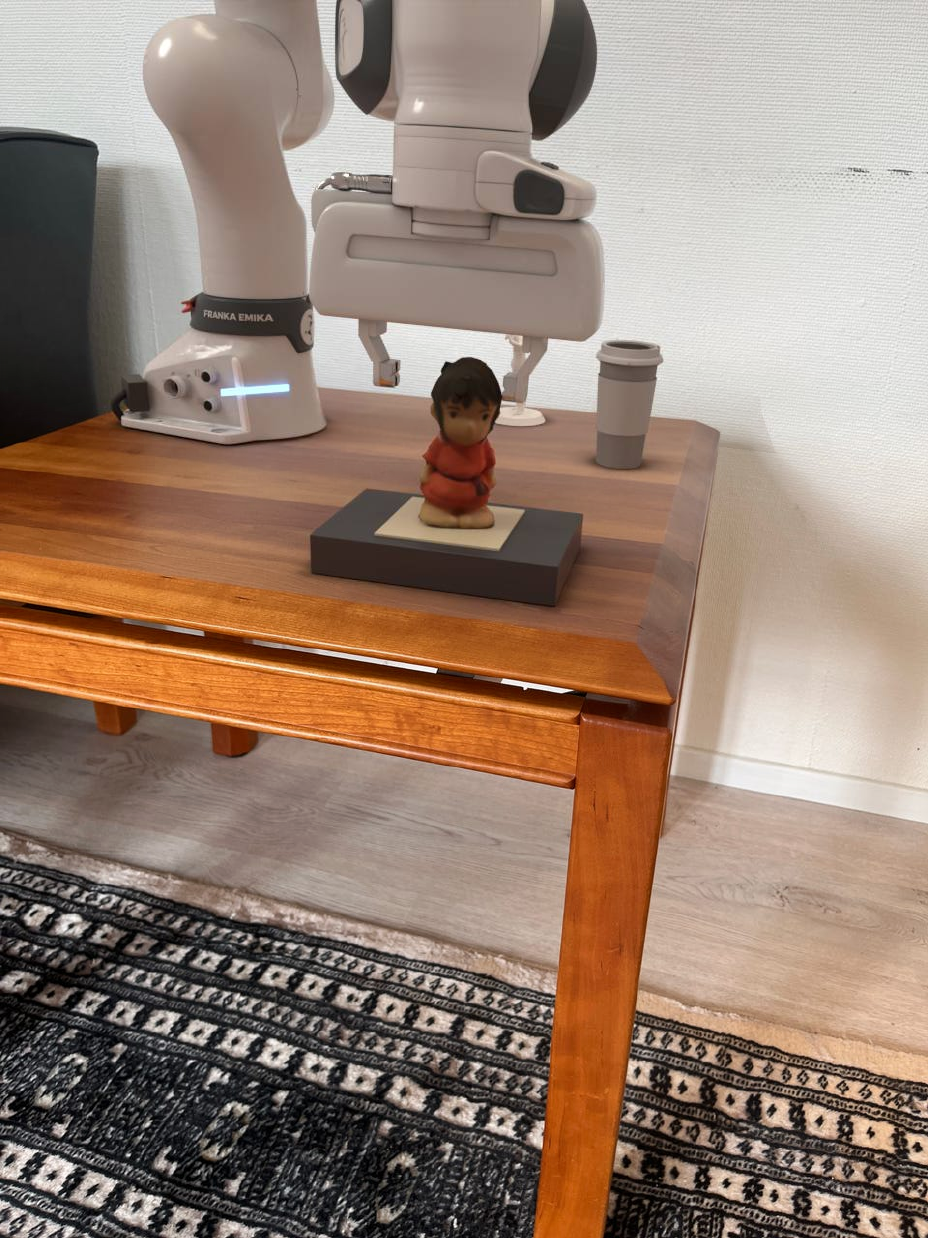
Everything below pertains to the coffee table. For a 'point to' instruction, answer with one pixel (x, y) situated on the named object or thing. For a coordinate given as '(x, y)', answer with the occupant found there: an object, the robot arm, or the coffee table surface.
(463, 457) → the figurine
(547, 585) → the block
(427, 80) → the robot arm
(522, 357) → the figurine
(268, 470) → the coffee table surface
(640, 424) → the cup
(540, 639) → the coffee table surface
